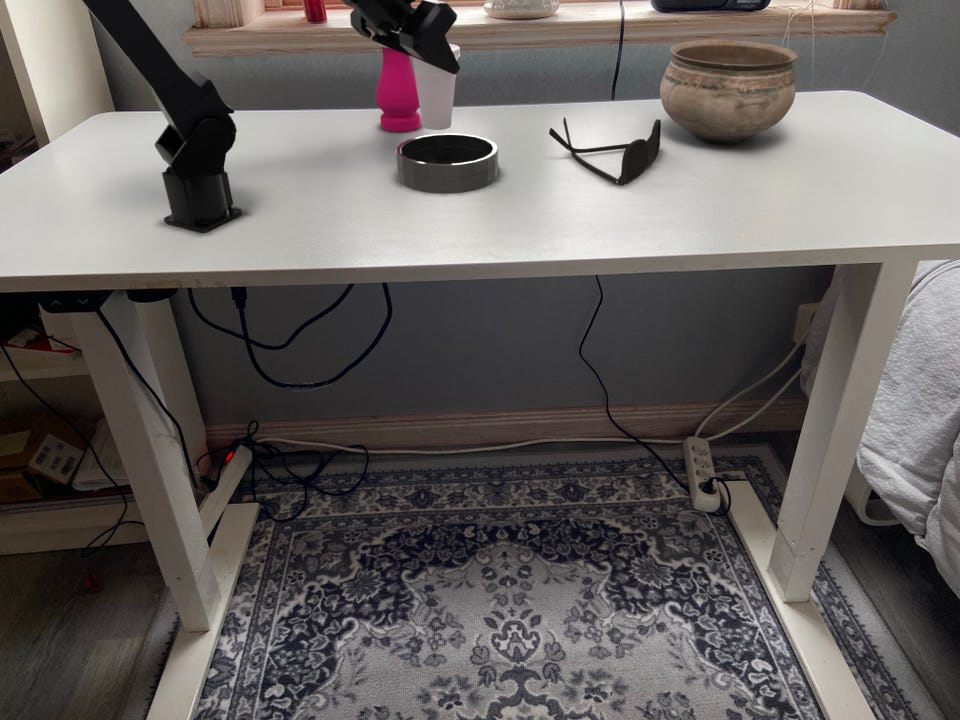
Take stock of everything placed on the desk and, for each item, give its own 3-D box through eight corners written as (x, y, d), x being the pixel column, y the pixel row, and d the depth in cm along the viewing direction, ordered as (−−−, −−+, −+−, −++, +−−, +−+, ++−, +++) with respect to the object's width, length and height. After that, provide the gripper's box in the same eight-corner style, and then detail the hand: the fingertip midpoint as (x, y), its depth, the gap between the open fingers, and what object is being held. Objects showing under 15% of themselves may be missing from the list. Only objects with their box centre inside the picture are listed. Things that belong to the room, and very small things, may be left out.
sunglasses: (574, 137, 114) (576, 103, 111) (667, 150, 108) (672, 115, 105) (528, 171, 101) (529, 134, 99) (631, 188, 96) (635, 149, 93)
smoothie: (445, 135, 95) (443, 15, 87) (402, 128, 97) (396, 10, 90) (469, 123, 100) (469, 7, 92) (428, 117, 102) (424, 4, 94)
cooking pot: (818, 161, 104) (841, 69, 97) (685, 167, 102) (699, 73, 95) (745, 112, 124) (760, 33, 118) (634, 116, 123) (642, 36, 116)
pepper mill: (432, 124, 120) (427, -15, 109) (405, 135, 115) (396, -9, 104) (396, 117, 123) (387, -18, 112) (368, 128, 118) (356, -12, 107)
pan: (466, 199, 93) (466, 171, 91) (378, 182, 98) (376, 155, 96) (513, 167, 102) (514, 141, 100) (431, 153, 108) (430, 128, 106)
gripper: (438, -83, 77) (524, 25, 88) (365, -90, 90) (447, 4, 101) (374, 7, 78) (466, 102, 89) (310, -13, 91) (398, 72, 102)
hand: (444, 66), depth 95 cm, fingers closed on smoothie, 6 cm apart
